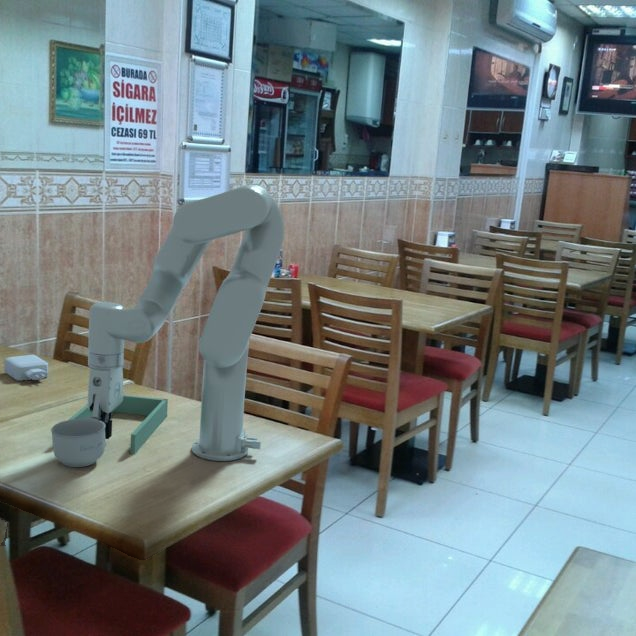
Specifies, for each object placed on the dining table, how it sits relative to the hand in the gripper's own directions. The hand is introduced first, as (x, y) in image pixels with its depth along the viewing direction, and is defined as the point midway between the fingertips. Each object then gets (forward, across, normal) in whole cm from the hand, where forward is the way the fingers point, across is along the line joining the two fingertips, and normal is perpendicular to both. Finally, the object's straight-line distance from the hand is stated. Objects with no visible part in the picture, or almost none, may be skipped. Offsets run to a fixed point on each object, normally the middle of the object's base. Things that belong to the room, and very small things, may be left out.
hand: (103, 437), depth 169 cm
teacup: (+2, -10, +1) cm, 10 cm away
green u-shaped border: (+1, +8, 0) cm, 8 cm away
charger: (+2, +40, +36) cm, 54 cm away
